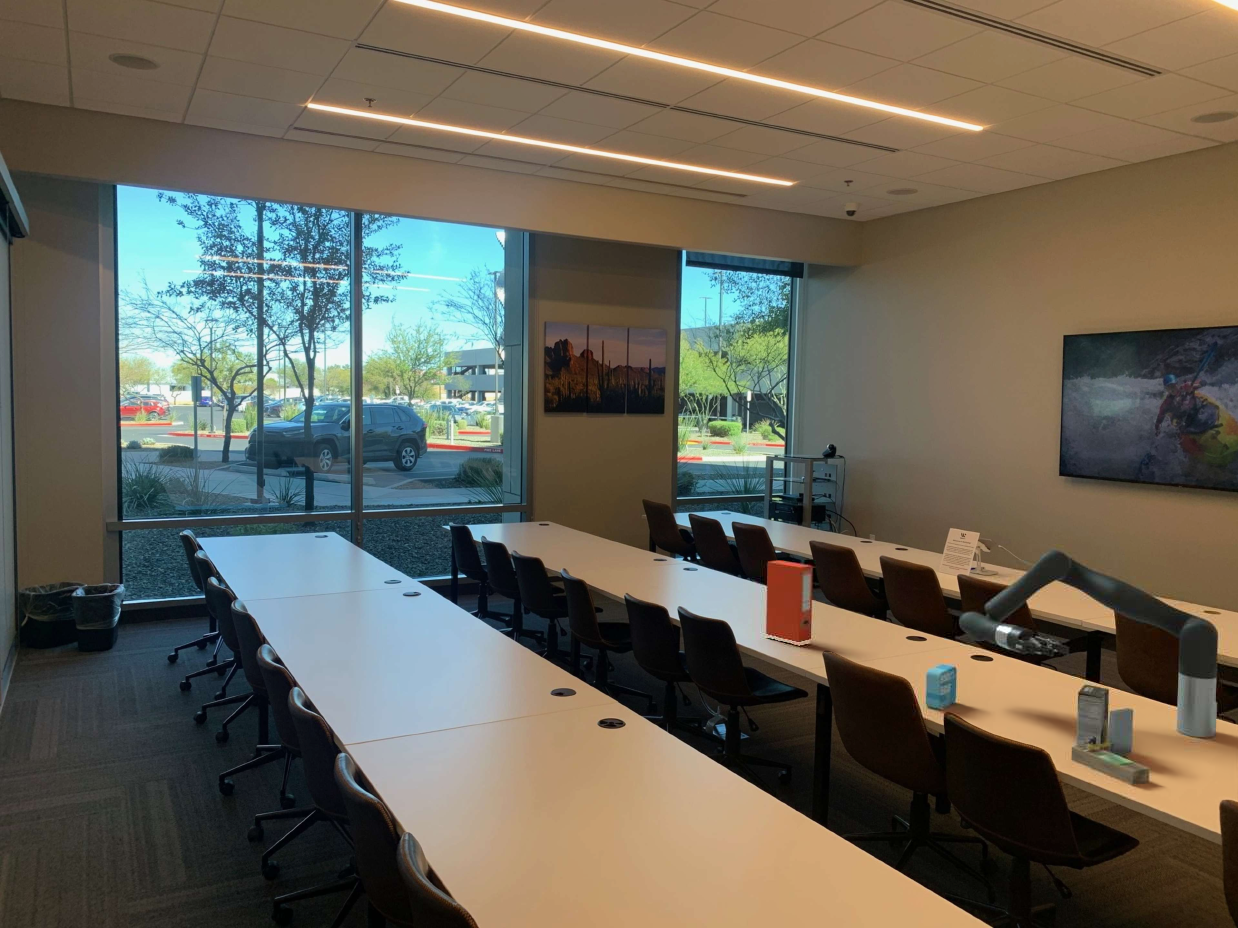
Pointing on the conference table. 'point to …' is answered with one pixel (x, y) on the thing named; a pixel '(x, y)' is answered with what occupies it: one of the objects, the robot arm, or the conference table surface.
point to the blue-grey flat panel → (1119, 732)
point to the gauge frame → (1110, 764)
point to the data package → (941, 686)
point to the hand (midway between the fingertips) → (1060, 651)
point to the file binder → (789, 600)
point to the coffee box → (1092, 716)
